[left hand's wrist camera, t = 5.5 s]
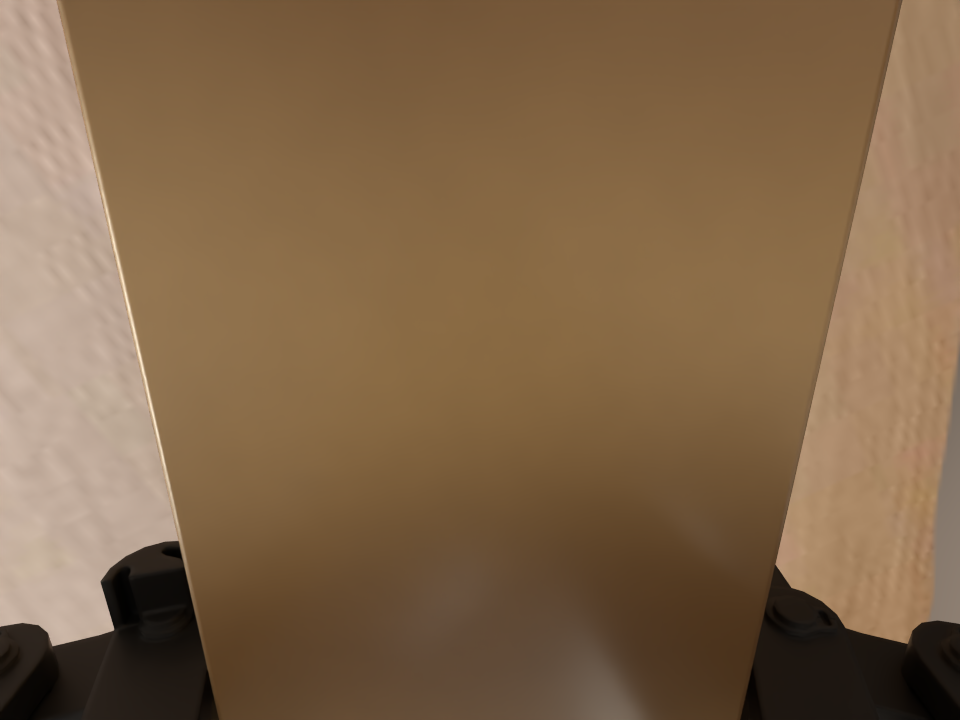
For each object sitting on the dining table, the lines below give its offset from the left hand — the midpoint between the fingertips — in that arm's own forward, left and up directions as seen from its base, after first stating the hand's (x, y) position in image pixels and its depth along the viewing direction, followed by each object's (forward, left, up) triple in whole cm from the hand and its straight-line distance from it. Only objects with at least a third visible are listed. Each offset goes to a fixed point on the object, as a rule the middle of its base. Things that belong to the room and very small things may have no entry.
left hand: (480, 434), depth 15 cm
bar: (+7, 0, -1) cm, 7 cm away
